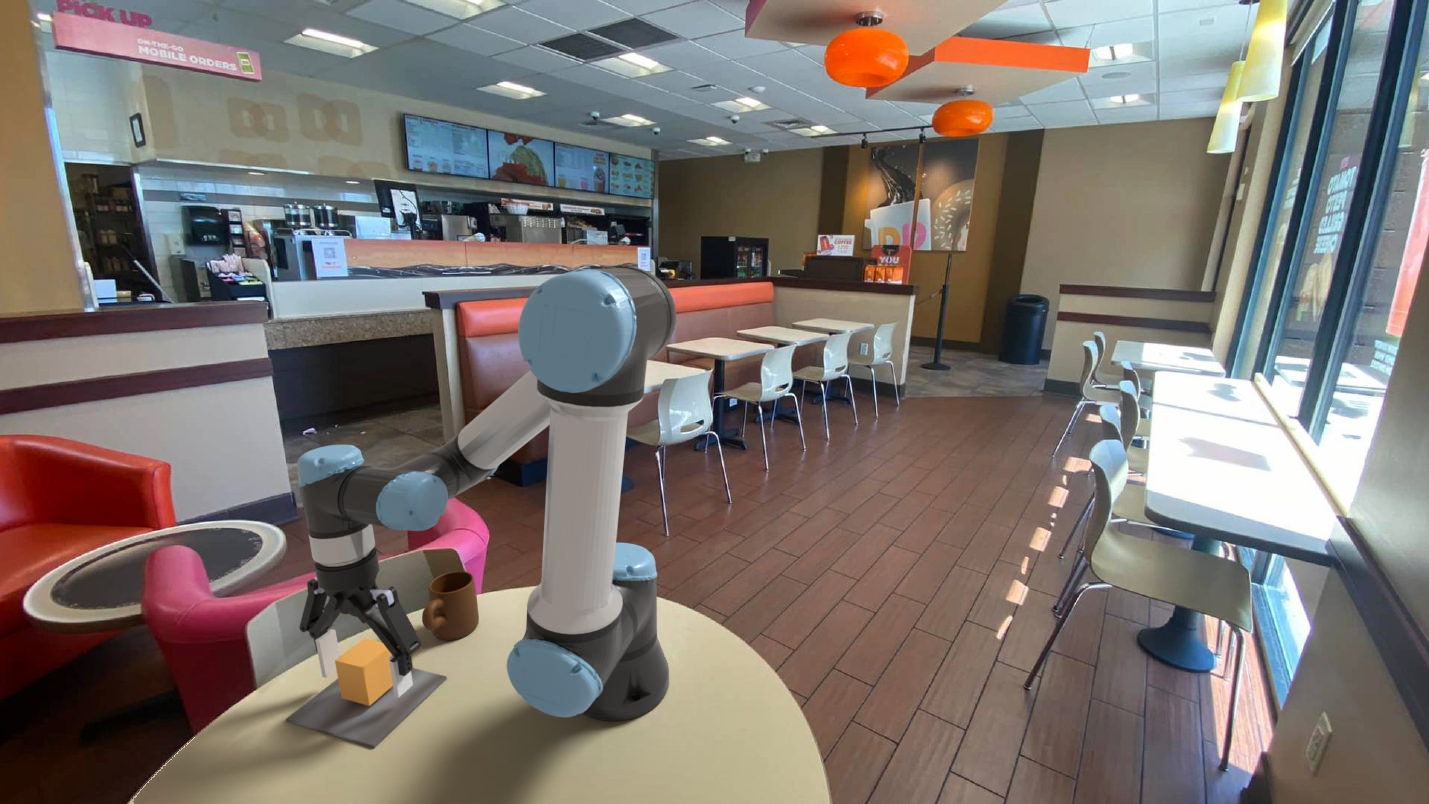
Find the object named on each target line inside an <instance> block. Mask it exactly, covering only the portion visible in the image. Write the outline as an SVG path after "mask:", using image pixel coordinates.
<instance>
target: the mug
mask: <svg viewBox="0 0 1429 804" xmlns="http://www.w3.org/2000/svg"><path fill="white" fill-rule="evenodd" d="M475 582H476V581H475V577H474V575H473V574H472V573H471V572H468V571H464V570H455V571H449V572H445V573H442V574H440V575H438V576H437V577H435V578H434V579H432V580H431V581H430V583H429V585H428V600H429V602H428V603H427V604H426V606H425V607H424V608H423V611H422V616H421V622H422V625H423V627H424V628H425V629H426V630H429V631H433V633H434V635H435V637H438V638H439V639H441V640H448V641H449V640H451V641H452V640H458V639H462V638H464V637H467V636H468V635H470V634H471V633H473V632H474V631H475V630H476V629H477V627H478V625H479V622H480V621H479V620H480V616H479V615H480V614H479V606H478V605H479V604H478V595H477V588H476V583H475Z"/></svg>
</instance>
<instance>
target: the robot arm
mask: <svg viewBox="0 0 1429 804" xmlns="http://www.w3.org/2000/svg"><path fill="white" fill-rule="evenodd" d="M676 308H677V307H676V304H675V301H674V298H673V295H672V294H671V291H670V290H669V288H668V287H667V286H666V284H665V283H664V282H663V281H662V280H661V279H660V278H658V277H657V276H656V275H654V274H652V272H650V271H647V270H646V269H645V270H644V269H642V268H639V267H634V266H620V267H619V266H618V267H613V268H589V269H585V268H578V269H574V270H571V271H567V272H565V273H563V274H558V275H555V276H553V277H551V278H549V279H547V280H545V281H544V282H542V283H541V284H540V285H539V286H538V287H537V288H536V289H534V291H533V292H531V294H530V295H529V297H528V299H527V300H526V302H525V303H524V305H523V308H522V311H521V313H520V317H519V322H518V329H517V331H518V332H517V335H518V337H517V340H518V345H519V350H520V353H521V356H522V358H523V361H524V362H527V363H528V364H529V366H530V367H529V371H527V372H526V373H525V374H523V376H522V377H520V378H519V379H518V380H517V381H516V382H515V383H513V384H512V385H511V386H510V387H509V388H508V389H507V390H505V391H504V392H503V393H502V394H501V395H500V396H499V397H497V399H495V400H494V401H492V403H491V404H490V405H487V407H486V408H485V409H484V410H483V411H481V412H480V413H479V414H478V415H476V416H475V418H473V420H470V422H469V423H468V424H466V425H465V426H464V427H463V428H461V430H460V431H459V432H458V433H456V434H455V435H454V436H453V437H452V438H450V440H448V441H447V442H445V443H444V444H443V445H441V446H439V447H437V448H436V449H433V450H430V451H429V452H427V453H424V454H422V455H420V456H418V457H415V458H413V459H411V460H409V461H406V462H404V463H402V464H400V465H398V466H396V467H392V468H385V467H377V466H376V467H375V466H370V465H364V462H365V459H364V458H363V455H362V451H361V449H360V448H358V447H356V446H355V445H351V444H333V445H332V444H331V445H325V446H321V447H317V448H313V449H311V450H307V452H305V453H303V454H302V455H301V456H299V458H298V460H297V463H296V465H297V467H296V468H297V476H298V477H297V478H298V484H297V487H298V488H299V492H300V496H301V501H302V505H303V510H304V511H303V512H304V516H305V521H306V525H307V530H308V539H309V544H310V550H311V557H312V559H313V561H314V570H315V574H316V575H315V577H314V578H312V579H310V580H308V581H307V583H306V587H307V596H306V601H305V604H304V607H303V612H302V614H301V615H302V616H301V620H300V624H299V630H300V632H301V633H306V632H308V633H309V636H310V638H311V639H313V642H314V647H315V651H316V654H317V656H318V661H319V666H320V670H321V677H322V678H324V679H327V678H328V677H330V676H331V675H332V674H334V673H335V672H337V670H336V664H335V660H336V659H337V658H339V657H340V656H341V653H340V649H339V648H340V647H339V643H338V639H337V638H338V637H337V632H336V629H333V628H332V627H333V626H335V625H334V622H336V620H337V618H338V616H340V614H342V615H351V616H352V617H356V618H357V619H359V621H360V622H361V623H363V624H367V625H368V626H369V627H370V630H372V631H373V632H374V634H375V635H376V637H377V638H378V639H379V640H380V642H382V643H383V644H384V645H385V646H386V648H387V649H388V650H389V651H390V653H391V654H392V656H391V657H390V658H389V664H390V670H391V677H392V683H393V689H394V696H395V697H398V698H399V697H400V696H401V695H402V694H403V693H405V692H406V691H407V690H408V689H409V688H410V687H411V686H412V685H413V681H412V675H411V670H412V669H413V668H414V666H413V658H412V656H413V654H414V653H416V652H417V651H418V650H419V649H420V648H421V647H423V642H422V640H421V639H420V636H419V635H418V633H417V632H416V630H415V627H414V626H413V624H412V621H410V618H409V617H408V615H407V612H406V611H405V609H404V608H403V606H402V604H401V602H400V600H399V595H398V592H397V589H396V588H395V587H394V586H390V587H388V589H385V590H384V589H379V586H378V585H377V583H376V582H377V581H376V579H377V576H378V574H379V571H380V563H379V556H378V552H377V549H376V547H375V546H376V541H375V535H374V529H373V526H378V527H382V528H387V529H391V530H393V531H400V532H401V531H412V532H413V531H414V532H420V531H422V532H423V531H426V530H430V529H431V528H432V527H434V526H435V525H437V523H438V522H439V519H440V518H441V517H442V516H443V515H444V513H445V512H446V509H447V505H448V501H451V500H452V499H453V498H454V497H456V496H458V495H461V493H463V492H465V491H467V490H468V489H470V488H472V487H474V486H475V485H479V484H481V483H482V482H484V481H485V480H487V479H488V478H489V477H490V476H491V475H493V474H494V473H495V472H496V471H497V470H498V468H499V466H500V464H502V463H503V462H505V461H506V460H507V459H508V458H509V457H511V456H512V455H513V454H514V453H516V452H517V451H519V450H520V449H521V448H522V447H524V446H525V445H526V444H527V443H528V442H530V441H531V440H532V439H533V438H535V437H536V436H537V435H538V434H540V433H541V432H542V431H544V430H545V429H546V428H547V427H549V429H548V430H549V431H548V447H547V448H548V450H547V451H548V453H547V467H546V468H547V471H546V489H545V507H544V509H545V510H544V524H543V525H544V527H543V528H544V529H543V544H542V545H543V546H542V563H541V579H540V580H541V581H540V583H539V584H538V585H537V586H535V588H534V589H532V591H531V592H530V594H529V596H528V599H527V604H526V605H527V606H526V625H525V633H524V635H523V636H522V639H520V640H518V641H517V642H516V643H515V644H514V645H513V648H511V649H512V650H511V651H510V653H509V654H508V657H507V660H506V671H507V672H506V673H507V676H508V679H509V681H510V683H511V685H512V687H513V688H514V690H515V692H516V693H517V694H518V695H519V696H521V697H522V698H523V700H524V701H525V702H526V703H527V704H529V706H531V707H532V708H534V709H536V710H537V711H540V712H542V713H544V714H546V715H549V716H552V717H557V718H558V717H559V718H570V717H575V716H577V715H580V714H582V713H583V714H585V715H587V716H590V717H591V718H594V719H598V720H601V721H609V722H618V721H627V720H631V719H635V718H638V717H640V716H643V715H645V714H646V713H648V712H650V711H651V710H652V709H654V708H656V707H657V706H658V705H659V704H660V703H661V702H662V701H663V699H664V698H665V696H666V694H667V693H668V690H669V685H670V668H669V667H670V666H669V663H668V661H667V658H666V656H665V653H664V650H663V648H662V646H661V643H660V640H659V638H658V610H657V609H658V601H657V600H658V599H657V596H658V595H657V593H658V591H657V590H658V589H657V577H658V571H657V568H656V567H657V566H656V560H655V557H654V555H653V554H652V552H650V551H649V550H648V549H646V547H643V546H641V545H637V544H634V543H628V542H617V536H618V524H619V514H620V513H619V512H620V504H621V503H620V502H621V492H622V481H623V469H624V460H625V450H626V449H625V447H626V438H627V437H626V436H627V429H628V427H627V426H628V417H629V412H630V411H632V409H633V408H635V407H636V406H637V405H639V404H640V403H641V402H642V401H643V398H644V394H645V385H646V384H645V381H646V373H647V365H648V364H647V363H648V361H649V360H651V359H653V358H654V357H655V356H657V355H658V354H660V353H661V352H662V351H663V350H664V349H665V348H666V347H667V346H668V344H669V342H670V341H671V339H672V337H673V334H674V332H675V329H676V324H677V309H676ZM328 597H329V598H328ZM327 598H328V601H327ZM326 602H327V603H326ZM373 607H375V609H374V610H373V611H371V610H372V608H373ZM369 611H371V612H369ZM368 612H369V613H368ZM330 628H332V629H330Z"/></svg>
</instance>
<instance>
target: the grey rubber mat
mask: <svg viewBox="0 0 1429 804" xmlns="http://www.w3.org/2000/svg"><path fill="white" fill-rule="evenodd" d="M411 675H412V681H413V685H412V686H411V687H410V688H409V689H408V690H407V691H406V692H405V693H403V694H402V695H401V696H400V697H399V698H398V697H395V696H394V689H393V686H392V687H391V688H390V689H388V690H387V691H386V692H385V693H384V694H383V695H382V696H380V697H379V698H378V699H377V700H376V701H375V702H374V703H372V704H371V705H370V706H368V705H364V704H361V703H357V702H354V701H350V700H347V699H343V698H342V697H341V691H340V686H339V681H338V678H336V680H334V681H333V682H331V683H329V685H328V686H326V687H325V688H324V689H322V690H321V691H320V692H319V693H317V694H315V696H313V697H312V698H311V699H309V700H308V701H307V702H306V703H304V704H303V705H301V706H300V707H299V708H298V709H296V710H295V711H294V712H293V713H291V714H290V715H288V717H286V718H285V721H286V722H287V723H291V724H295V725H298V726H301V727H305V728H308V729H311V730H314V731H317V732H319V733H324V734H327V735H331V736H334V737H338V738H340V739H344V740H347V741H349V742H354V743H357V744H360V745H364V746H366V747H369V748H373V749H375V748H376V747H377V746H379V745H380V743H382V741H384V739H386V738H387V737H388V736H389V735H390V734H392V732H393V731H394V730H396V728H397V727H398V726H399V725H401V724H402V722H404V721H405V720H406V718H408V717H409V716H410V715H411V714H412V713H414V711H415V710H416V709H417V708H418V707H419V706H421V704H422V703H423V702H424V701H425V700H427V698H429V697H430V696H431V694H433V693H434V692H435V691H436V690H437V689H438V688H439V687H440V686H441V685H442V684H443V683H444V682H445V681H446V680H447V679H448V676H446V675H442V674H440V673H439V674H438V673H434V672H430V671H428V670H427V671H426V670H423V669H419V668H415V667H413V669H412V670H411Z"/></svg>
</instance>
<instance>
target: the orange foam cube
mask: <svg viewBox="0 0 1429 804" xmlns="http://www.w3.org/2000/svg"><path fill="white" fill-rule="evenodd" d="M391 656H392V654H391V653H390V651H389V650H388V649H387V648H386V646H385V645H384V644H383V643H382V641H378V640H373V639H368V638H363V639H362V640H360V641H359V642H358V643H356V644H355V645H354V646H352V647H351V648H349V649H348V650H347V651H345V652H344V653H343V654H340V657H339V658H337V659H336V660H335V664H336V674H337V679H338V681H339V686H340V691H341V697H342V698H343V699H347V700H350V701H354V702H357V703H361V704H364V705H368V706H370V705H371V704H372V703H374V702H375V701H376V700H377V699H378V698H379V697H380V696H382V695H383V694H384V693H385V692H386V691H387V690H388V689H390V688H391V687H392V686H393V683H392V677H391V670H390V664H389V658H390V657H391Z"/></svg>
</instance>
